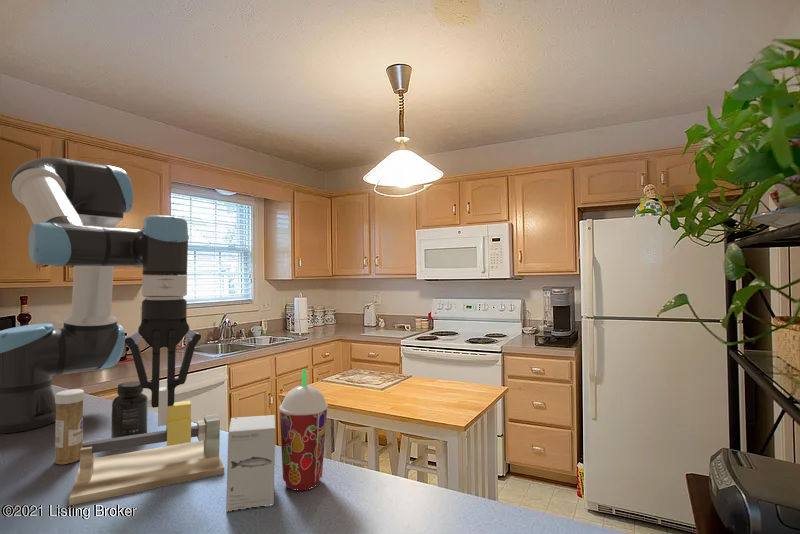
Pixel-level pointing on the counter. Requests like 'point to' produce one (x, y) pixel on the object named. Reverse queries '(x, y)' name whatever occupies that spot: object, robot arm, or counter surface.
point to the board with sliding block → (149, 466)
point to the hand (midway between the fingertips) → (162, 423)
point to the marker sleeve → (179, 423)
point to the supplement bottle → (129, 411)
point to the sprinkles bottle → (68, 425)
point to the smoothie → (303, 435)
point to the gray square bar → (132, 440)
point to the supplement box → (250, 462)
